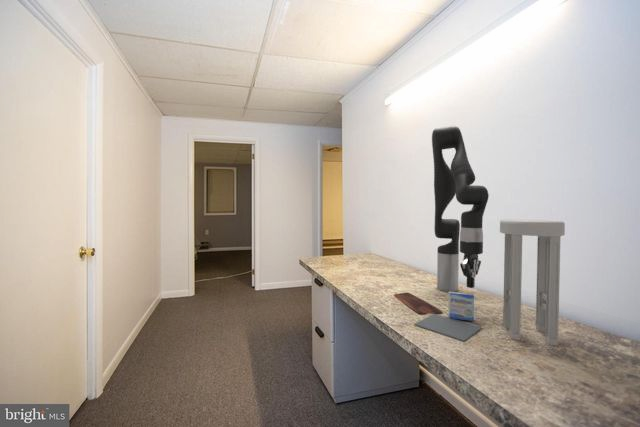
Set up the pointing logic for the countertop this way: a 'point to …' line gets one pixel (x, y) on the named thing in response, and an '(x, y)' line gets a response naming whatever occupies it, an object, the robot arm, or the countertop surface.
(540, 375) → the countertop surface
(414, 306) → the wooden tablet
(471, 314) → the medicine box
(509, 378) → the countertop surface
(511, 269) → the stool
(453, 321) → the mat
